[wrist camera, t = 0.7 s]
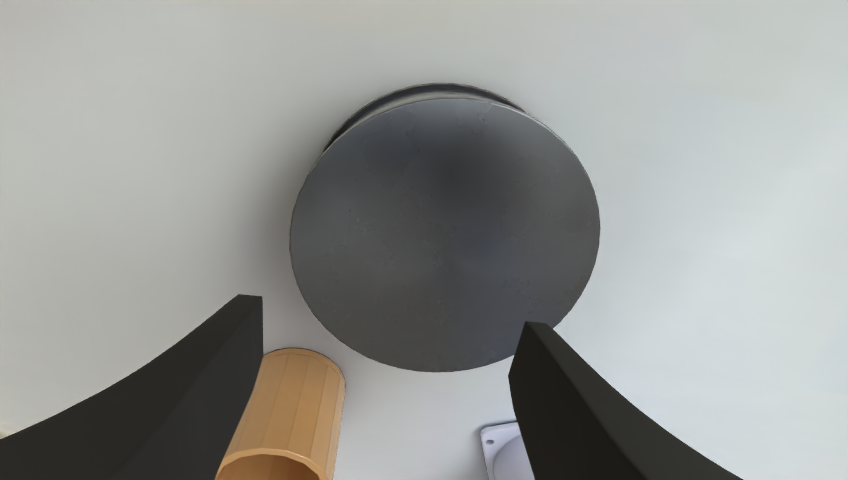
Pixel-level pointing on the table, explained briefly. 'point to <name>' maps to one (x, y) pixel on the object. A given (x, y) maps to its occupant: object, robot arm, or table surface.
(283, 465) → the cup
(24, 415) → the table surface
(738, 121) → the table surface
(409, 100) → the grey disc
